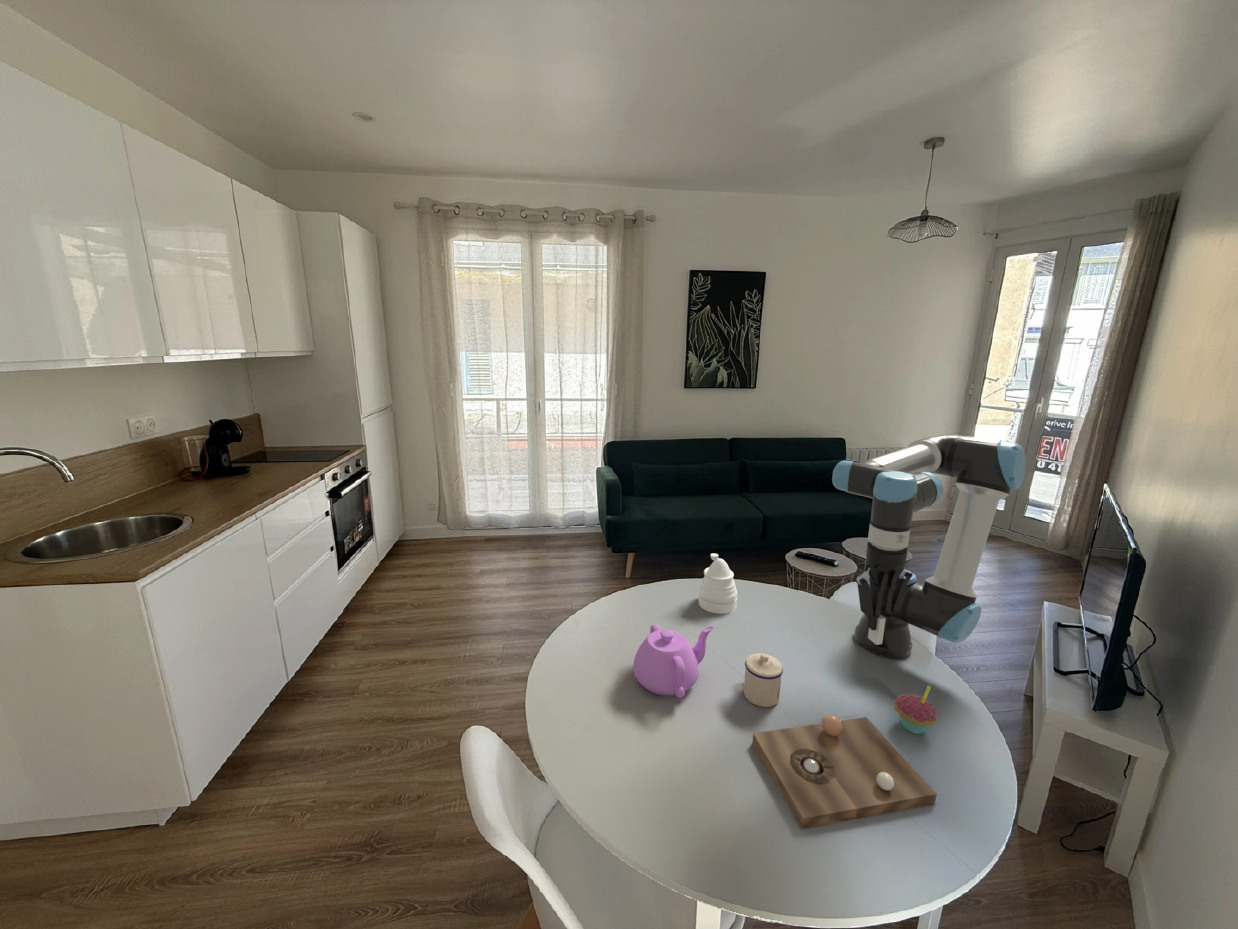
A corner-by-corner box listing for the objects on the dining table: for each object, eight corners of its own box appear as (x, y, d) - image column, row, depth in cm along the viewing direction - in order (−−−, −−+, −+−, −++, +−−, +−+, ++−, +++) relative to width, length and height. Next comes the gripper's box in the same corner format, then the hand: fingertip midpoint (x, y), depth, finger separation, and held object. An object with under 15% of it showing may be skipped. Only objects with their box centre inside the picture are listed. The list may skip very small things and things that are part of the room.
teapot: (730, 697, 120) (734, 649, 116) (649, 715, 114) (650, 665, 110) (693, 646, 140) (695, 604, 137) (622, 659, 134) (622, 615, 131)
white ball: (885, 779, 94) (887, 767, 94) (896, 793, 91) (898, 780, 91) (871, 782, 94) (873, 769, 93) (882, 795, 91) (884, 782, 90)
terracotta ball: (833, 725, 108) (835, 709, 107) (845, 739, 104) (847, 723, 103) (816, 727, 107) (818, 711, 106) (828, 742, 103) (830, 725, 102)
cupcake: (928, 718, 114) (936, 674, 111) (939, 745, 106) (948, 698, 103) (888, 709, 116) (895, 666, 114) (895, 735, 109) (903, 689, 106)
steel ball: (805, 753, 98) (795, 765, 99) (815, 769, 95) (805, 781, 96) (816, 756, 99) (806, 767, 100) (827, 772, 96) (816, 784, 97)
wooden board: (864, 726, 111) (866, 717, 110) (934, 804, 92) (936, 794, 91) (752, 742, 106) (753, 733, 105) (801, 829, 87) (803, 818, 86)
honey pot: (698, 611, 159) (700, 562, 155) (698, 593, 171) (700, 546, 167) (737, 615, 157) (741, 565, 153) (735, 596, 169) (738, 549, 165)
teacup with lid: (786, 707, 117) (790, 666, 114) (749, 709, 116) (753, 668, 113) (767, 675, 128) (770, 636, 125) (734, 677, 127) (737, 638, 125)
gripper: (873, 555, 97) (861, 655, 103) (927, 548, 99) (912, 646, 105) (848, 540, 104) (838, 635, 110) (900, 534, 106) (887, 627, 112)
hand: (874, 640), depth 108 cm, fingers closed
